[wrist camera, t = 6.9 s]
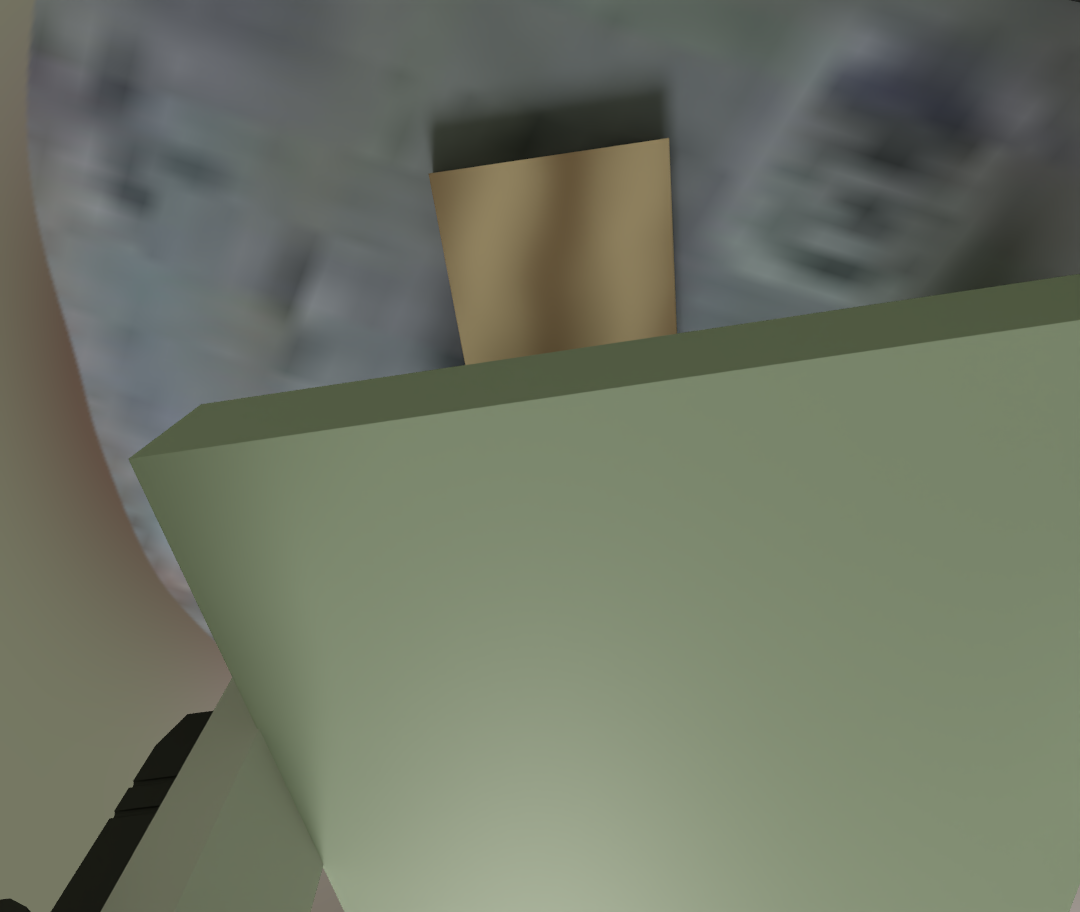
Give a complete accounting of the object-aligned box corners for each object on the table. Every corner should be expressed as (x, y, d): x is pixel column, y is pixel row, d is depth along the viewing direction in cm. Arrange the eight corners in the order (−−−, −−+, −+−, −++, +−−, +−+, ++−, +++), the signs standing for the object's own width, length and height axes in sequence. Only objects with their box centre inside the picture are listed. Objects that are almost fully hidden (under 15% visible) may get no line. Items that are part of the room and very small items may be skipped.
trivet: (661, 139, 27) (669, 138, 25) (674, 434, 33) (681, 446, 31) (433, 173, 27) (428, 173, 26) (487, 459, 33) (485, 472, 32)
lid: (1049, 247, 8) (1306, 286, 6) (946, 758, 13) (1065, 923, 10) (251, 367, 9) (129, 459, 6) (414, 824, 13) (386, 999, 10)
